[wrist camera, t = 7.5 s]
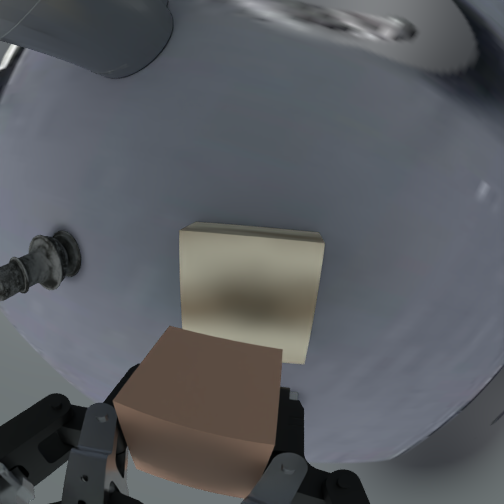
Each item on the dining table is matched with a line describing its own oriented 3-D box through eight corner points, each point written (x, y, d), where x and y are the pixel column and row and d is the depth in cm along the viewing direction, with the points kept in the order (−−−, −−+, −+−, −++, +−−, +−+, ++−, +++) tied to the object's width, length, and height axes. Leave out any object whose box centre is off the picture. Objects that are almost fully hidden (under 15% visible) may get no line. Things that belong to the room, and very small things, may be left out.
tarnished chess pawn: (56, 217, 24) (-30, 245, 13) (88, 247, 24) (0, 289, 13) (45, 259, 26) (-28, 295, 14) (76, 288, 26) (2, 337, 15)
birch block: (197, 221, 23) (179, 230, 19) (318, 231, 22) (325, 243, 18) (197, 325, 25) (183, 348, 22) (302, 337, 24) (304, 364, 21)
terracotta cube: (169, 325, 11) (112, 400, 7) (282, 349, 11) (274, 444, 6) (172, 399, 13) (136, 468, 8) (263, 420, 12) (251, 499, 8)
